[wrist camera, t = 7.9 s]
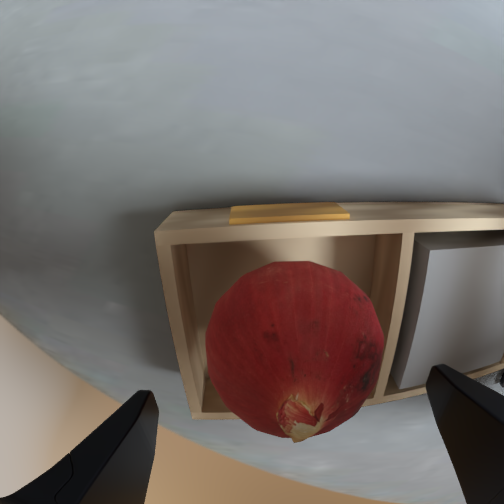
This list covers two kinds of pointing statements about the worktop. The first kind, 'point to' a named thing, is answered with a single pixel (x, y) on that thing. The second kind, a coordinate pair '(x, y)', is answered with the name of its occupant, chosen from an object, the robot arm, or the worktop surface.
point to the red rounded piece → (294, 348)
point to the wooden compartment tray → (358, 271)
